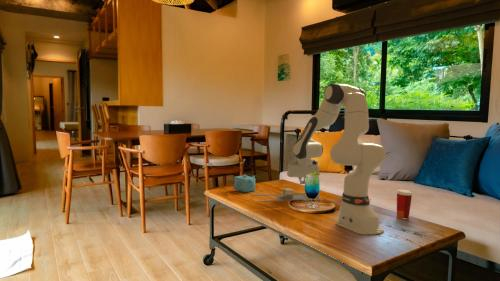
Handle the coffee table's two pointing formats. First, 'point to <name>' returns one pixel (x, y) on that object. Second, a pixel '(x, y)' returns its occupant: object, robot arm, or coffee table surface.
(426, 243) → the coffee table surface
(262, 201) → the lane rails
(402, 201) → the glass of red beer
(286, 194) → the cube
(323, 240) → the coffee table surface
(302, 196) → the strip
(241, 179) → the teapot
